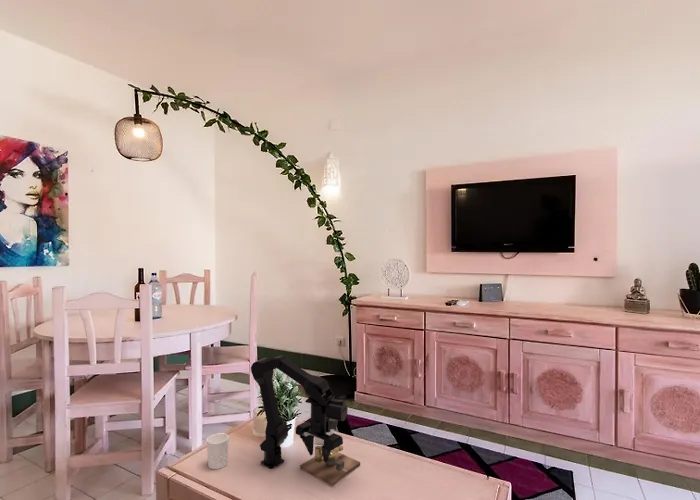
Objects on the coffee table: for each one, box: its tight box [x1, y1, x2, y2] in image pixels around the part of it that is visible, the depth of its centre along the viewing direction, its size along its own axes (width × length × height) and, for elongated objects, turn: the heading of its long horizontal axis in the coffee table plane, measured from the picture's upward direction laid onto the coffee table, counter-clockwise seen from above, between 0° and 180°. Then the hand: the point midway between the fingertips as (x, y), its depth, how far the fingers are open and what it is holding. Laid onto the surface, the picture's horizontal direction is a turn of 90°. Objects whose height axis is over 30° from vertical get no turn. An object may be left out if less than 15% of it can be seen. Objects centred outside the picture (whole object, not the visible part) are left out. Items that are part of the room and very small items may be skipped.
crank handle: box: [314, 445, 344, 463], centre depth 141 cm, size 4×14×6 cm, turn 141°
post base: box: [299, 451, 361, 487], centre depth 141 cm, size 16×16×4 cm
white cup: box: [206, 432, 230, 470], centre depth 143 cm, size 8×8×10 cm
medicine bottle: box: [314, 429, 335, 445], centre depth 161 cm, size 7×7×12 cm
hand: (318, 458), depth 136 cm, fingers open, 7 cm apart
